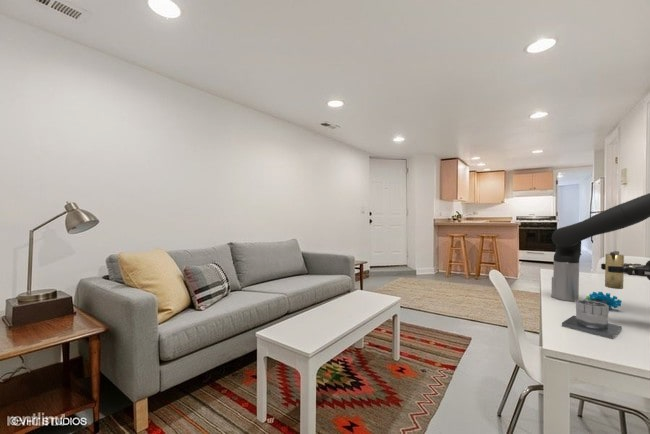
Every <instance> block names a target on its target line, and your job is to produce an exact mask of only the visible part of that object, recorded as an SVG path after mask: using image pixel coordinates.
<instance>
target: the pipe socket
mask: <svg viewBox="0 0 650 434" xmlns="http://www.w3.org/2000/svg"><path fill="white" fill-rule="evenodd" d="M609 309H610V308H609V306H608V305H607V304H604V303H600V302H596V301H589V300H586V299H579V300H577V301H575V315H572V316H570V317H569V318H567V319H566V320H564V321H563V322H561V327H564V328H566V329H567V328H568V329H571V330H576V331H580V332H582V333H583V332H584V333H588V334H591V335H595V336H599V337H603V338H606V339H611V340H614V339H615V338H616V336H617V335H619V333H620V332H621V331H622V330H623V326H622V325H618V324H613V323H610V322H609V313H610V310H609Z"/></svg>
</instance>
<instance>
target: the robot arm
mask: <svg viewBox="0 0 650 434" xmlns="http://www.w3.org/2000/svg"><path fill="white" fill-rule="evenodd" d="M648 218H650V193H646V194H644V195H643V194H642V195H641V196H638V197H635V198H633V199H630V200H627V201H625V202H622V203H619V204H616V205H615V206H612V207H609V208H607V209H605V210H603V211H601V212H598V213H596V214H595V215H592V216H590V217H588V218H587V219H584V220H582V221H579V222H576V223H574V224H573V223H572V224H569V225H566V226H563V227H558V228H557V229H556V230H554V231H553V233H552V234H551V240H552V242H553V244H555V246H556V247H555V252H554V255H553V274H552V275H553V276H552V277H551V293H550V294H551V295H550V296H551V298H555V299H558V300H561V301H566V302H567V301H568V302H576V301H577V300H580V299H579V298H580V293H579V290H580V288H579V287H580V258H581V256H582V255H581V254H582V241H585V240H586V239H589V238H592V237H594V236H599V235H602V234H607V233H611V232H615V231H619V230H622V229H625V228H628V227H630V226H633V225H637V224H639V223H641V222H643V221H645V220H647V219H648ZM600 269H601V270H604V271H605V263H601V264H600ZM608 272H613V273H622V272H623V274H624V275H628V276H638V277H646V278H647V280H649V281H650V260H647V262H646V263H645V264H641V263H628V262H627V263H625V262H624V267H623V268H622V267H619V266H608Z"/></svg>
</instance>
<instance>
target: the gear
mask: <svg viewBox="0 0 650 434" xmlns="http://www.w3.org/2000/svg"><path fill="white" fill-rule="evenodd" d="M585 300H589V301H596V302H600V303H604V304H607V305H608V306H609V309H612V307H613V308H614V309H618V307H622V300H621V299H618V296H616V295H612V297H611V293H609V292H605V294H604V293H603V292H602V291H598V292H596V291H593V292H592V293H589V295H586V296H585Z"/></svg>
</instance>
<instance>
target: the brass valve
mask: <svg viewBox="0 0 650 434" xmlns="http://www.w3.org/2000/svg"><path fill="white" fill-rule="evenodd" d="M604 262H605V263H604V264H605V270H604V271H605V272H604V273H605V274H604V287H606V288H608V289H615V290H623V289H624V276H625V274H623V272H622V273H613V272H608V266H619V267H622V268H623V267H624V263H625V255H624V254H620V251H619V250H617V251H616V250H614V251H611V252H609V253H605V261H604Z"/></svg>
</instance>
